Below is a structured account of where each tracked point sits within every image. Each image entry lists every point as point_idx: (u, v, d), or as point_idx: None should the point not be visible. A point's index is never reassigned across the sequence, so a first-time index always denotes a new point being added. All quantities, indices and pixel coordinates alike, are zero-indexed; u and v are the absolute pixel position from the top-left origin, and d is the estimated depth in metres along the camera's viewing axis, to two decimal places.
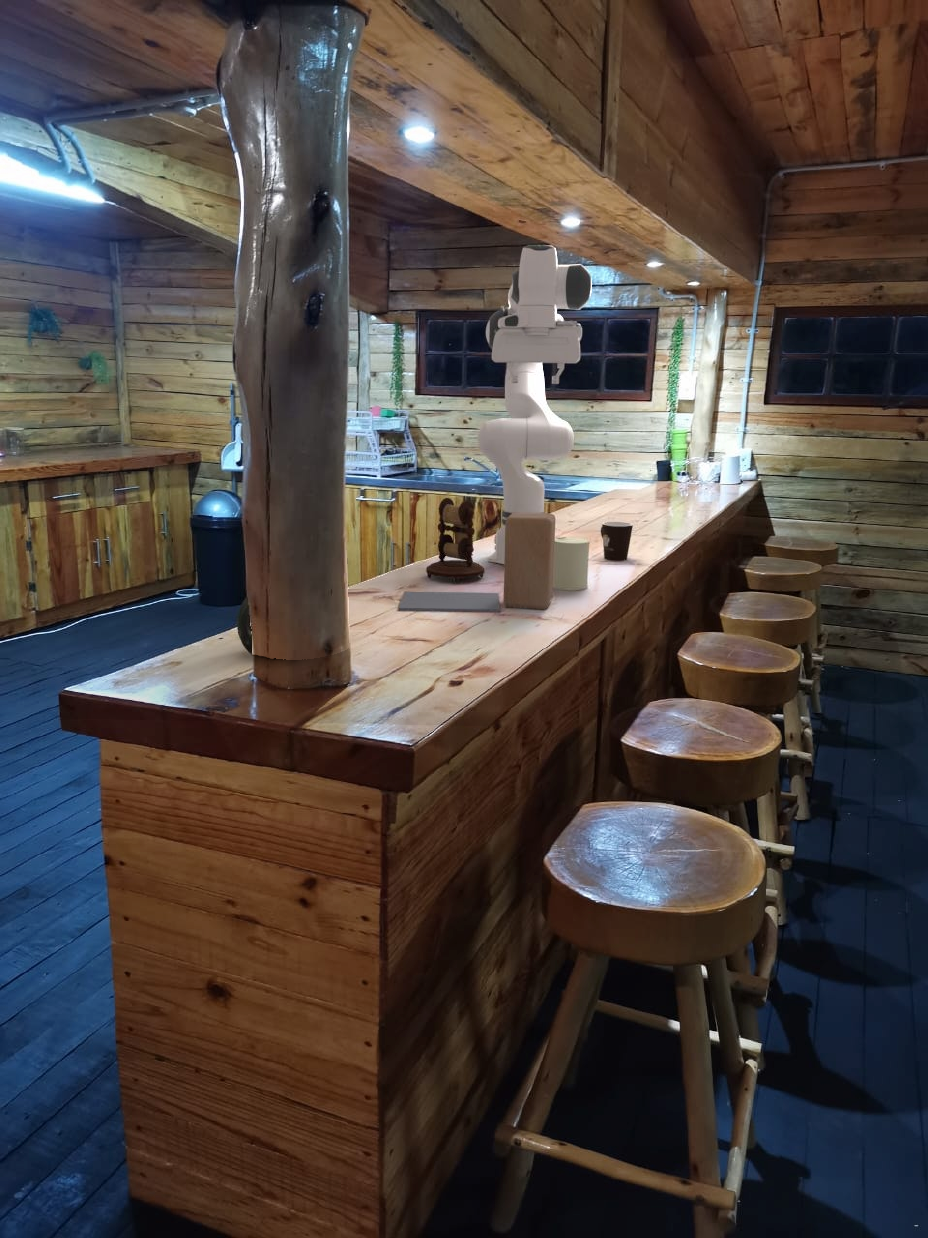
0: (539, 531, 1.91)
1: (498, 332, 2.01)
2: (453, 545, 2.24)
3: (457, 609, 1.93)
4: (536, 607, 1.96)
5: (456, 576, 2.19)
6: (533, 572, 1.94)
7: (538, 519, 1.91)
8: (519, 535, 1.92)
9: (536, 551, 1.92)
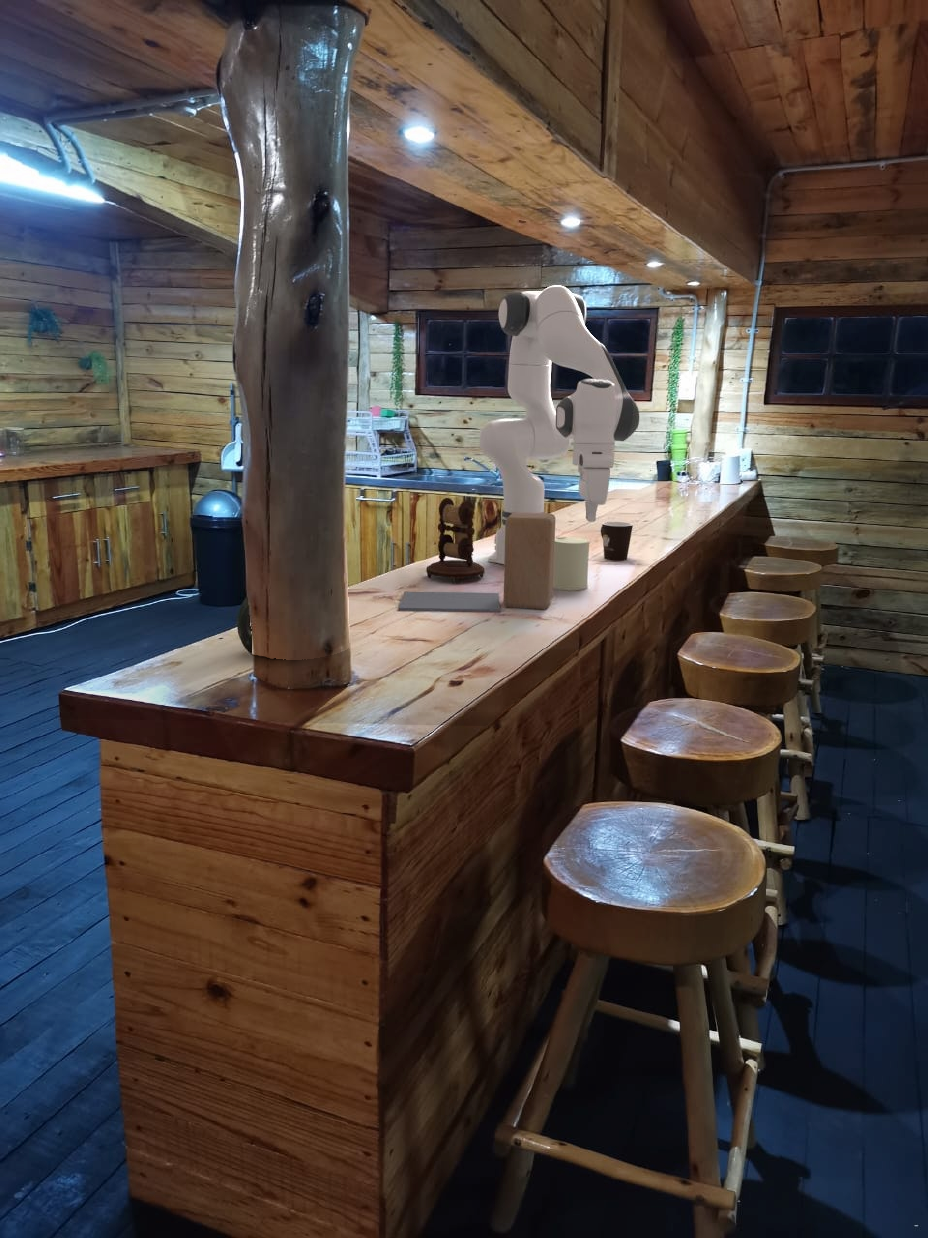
0: (539, 531, 1.91)
1: (609, 473, 1.84)
2: (453, 545, 2.24)
3: (457, 609, 1.93)
4: (536, 607, 1.96)
5: (456, 576, 2.19)
6: (533, 572, 1.94)
7: (538, 519, 1.91)
8: (519, 535, 1.92)
9: (536, 551, 1.92)
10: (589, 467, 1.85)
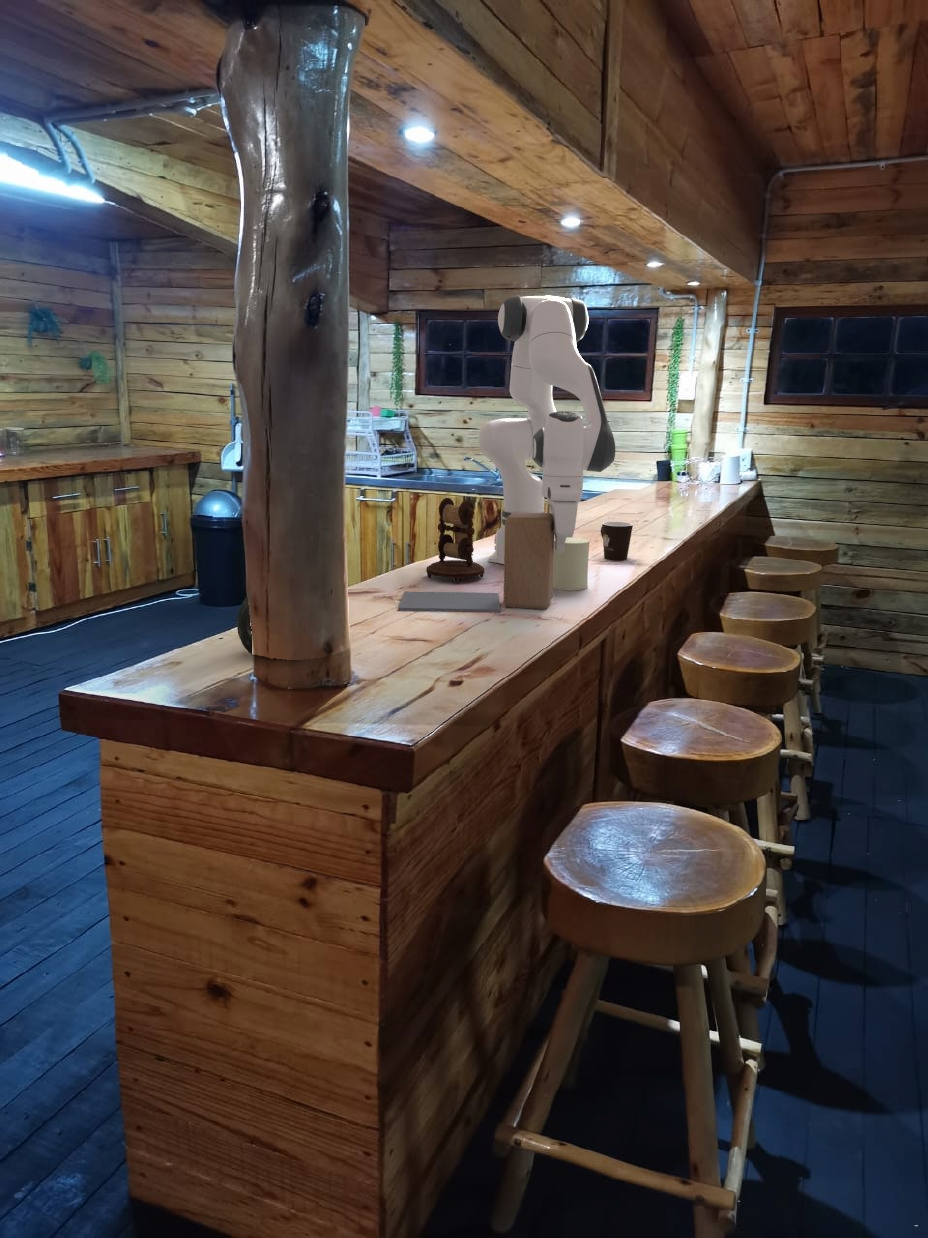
0: (539, 531, 1.91)
1: None
2: (453, 545, 2.24)
3: (457, 609, 1.93)
4: (536, 607, 1.96)
5: (456, 576, 2.19)
6: (533, 572, 1.94)
7: (538, 519, 1.91)
8: (518, 535, 1.92)
9: (536, 551, 1.92)
10: (557, 500, 1.86)
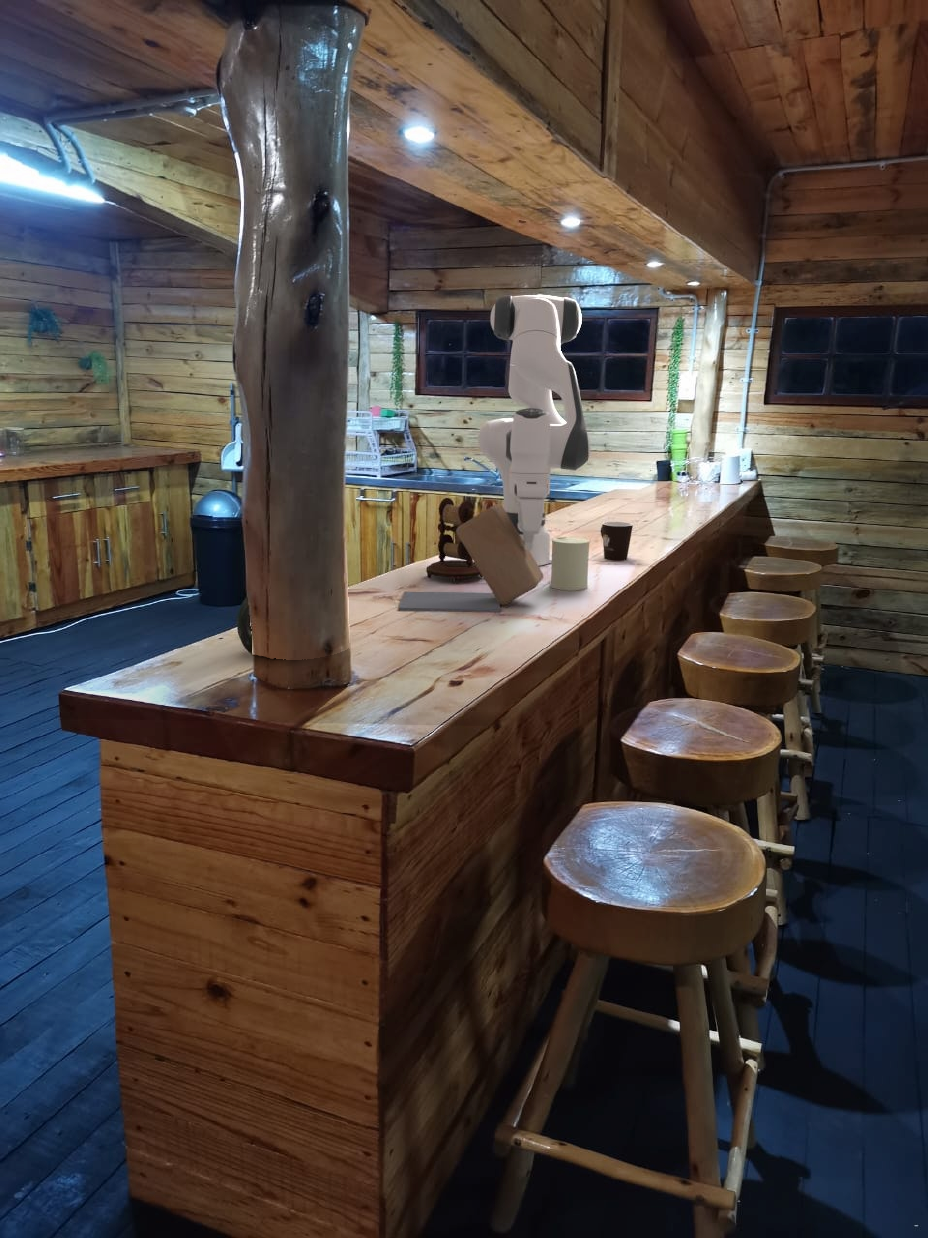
0: (488, 522, 1.93)
1: (543, 503, 1.86)
2: (453, 545, 2.24)
3: (457, 609, 1.93)
4: (527, 589, 1.95)
5: (456, 576, 2.19)
6: (506, 560, 1.94)
7: (481, 513, 1.94)
8: (474, 537, 1.95)
9: (496, 541, 1.94)
10: (523, 497, 1.86)
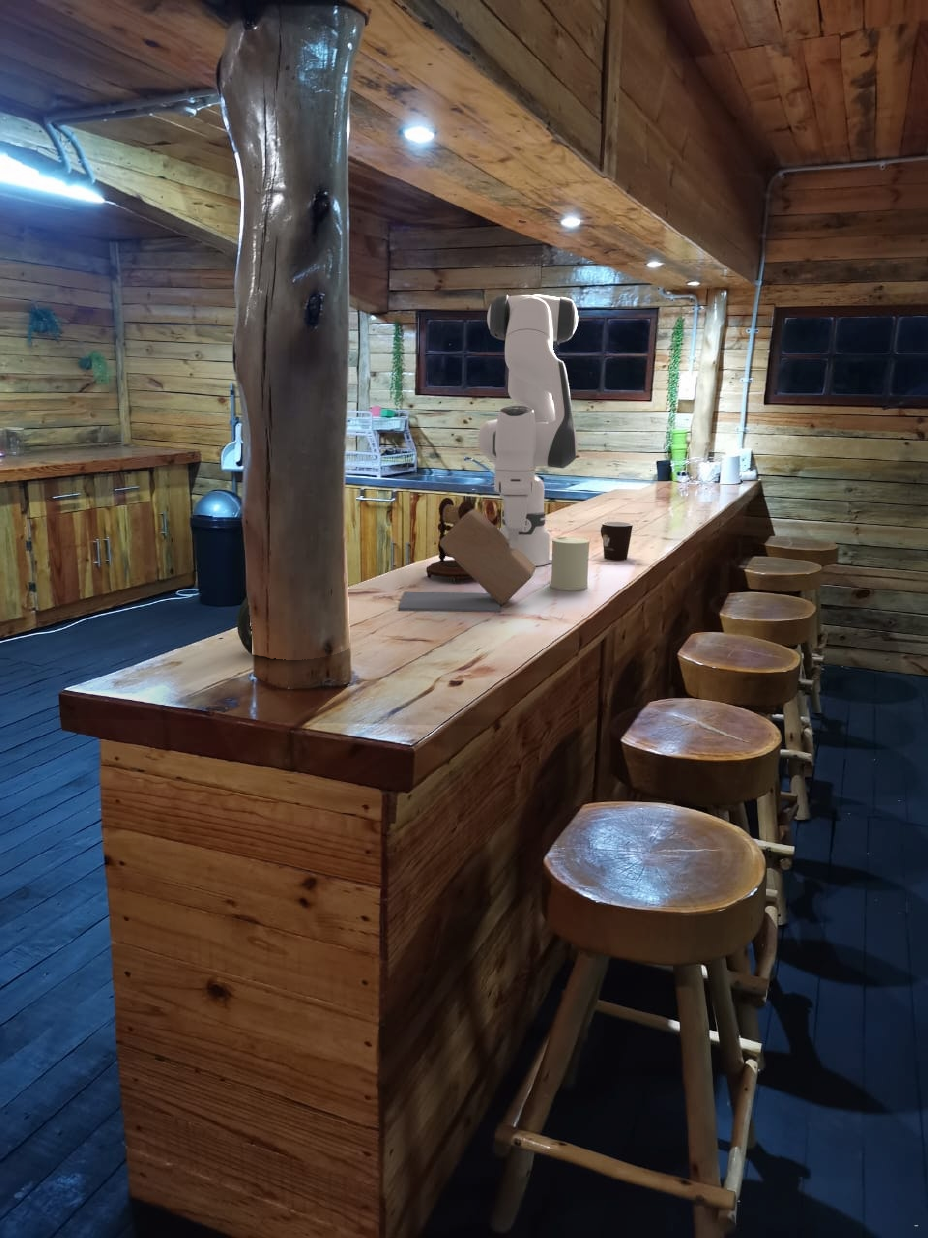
0: (468, 527, 1.94)
1: (527, 501, 1.86)
2: None
3: (457, 609, 1.93)
4: (523, 582, 1.95)
5: (456, 576, 2.19)
6: (495, 560, 1.95)
7: (459, 520, 1.95)
8: (458, 545, 1.96)
9: (481, 543, 1.94)
10: (507, 494, 1.86)
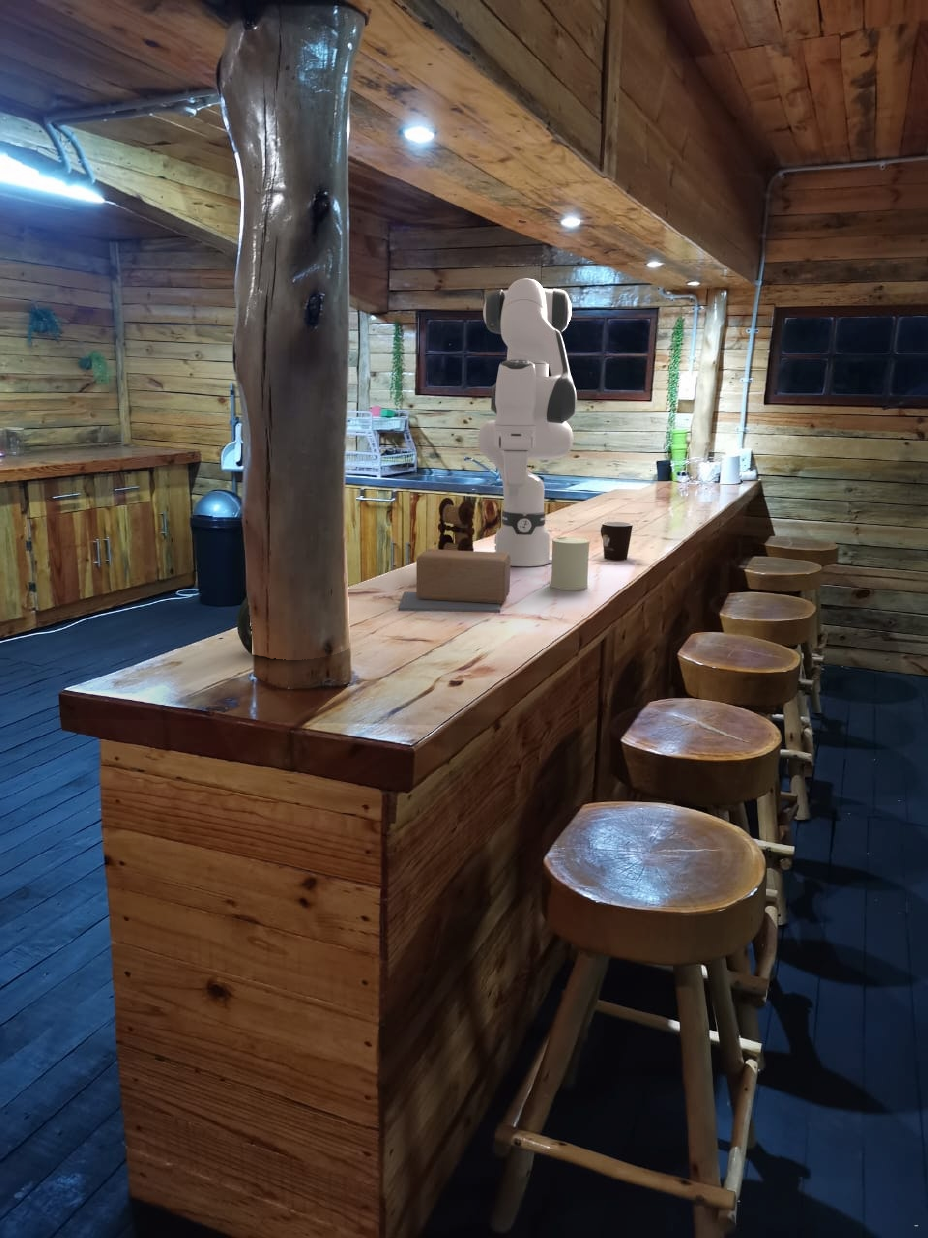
0: (427, 567, 1.98)
1: (527, 455, 1.84)
2: (453, 545, 2.24)
3: (457, 609, 1.93)
4: (502, 571, 1.95)
5: None
6: (467, 573, 1.97)
7: (416, 567, 1.99)
8: (432, 586, 1.99)
9: (446, 570, 1.97)
10: (507, 449, 1.84)
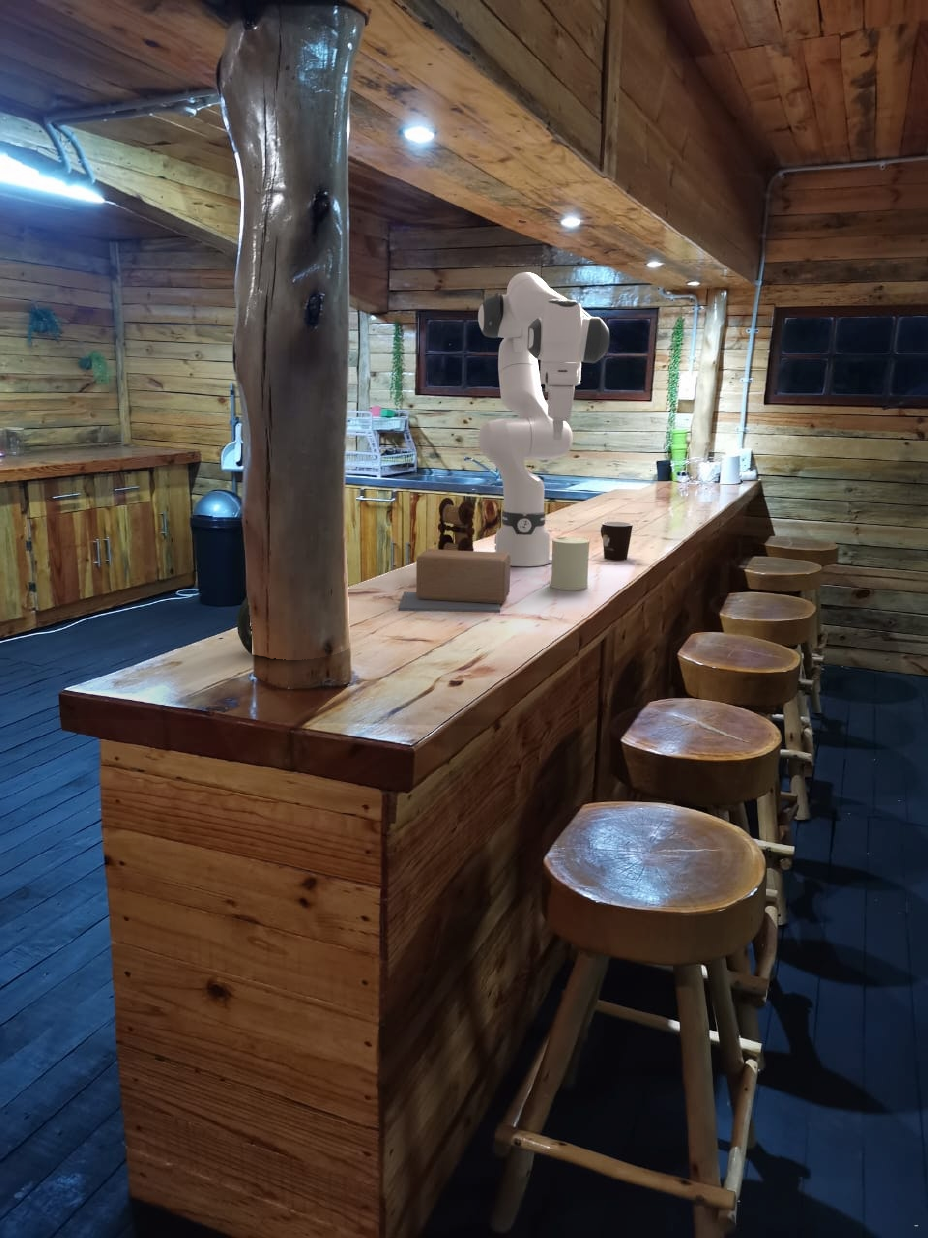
0: (427, 567, 1.98)
1: (574, 390, 1.90)
2: (453, 545, 2.24)
3: (457, 609, 1.93)
4: (502, 571, 1.95)
5: None
6: (467, 573, 1.97)
7: (416, 567, 1.99)
8: (432, 586, 1.99)
9: (446, 570, 1.97)
10: (554, 384, 1.90)
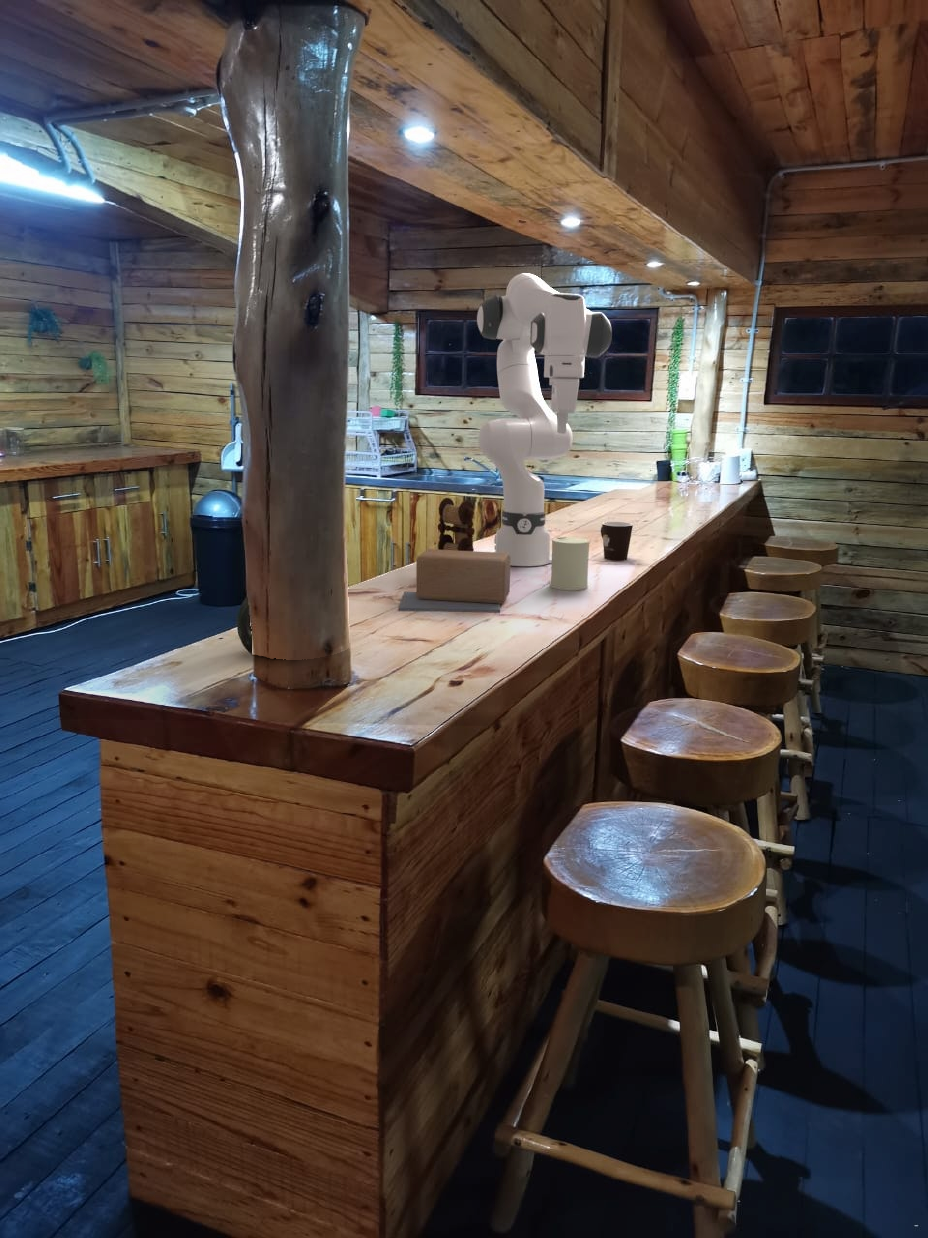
0: (427, 567, 1.98)
1: (578, 383, 1.91)
2: (453, 545, 2.24)
3: (457, 609, 1.93)
4: (502, 571, 1.95)
5: None
6: (467, 573, 1.97)
7: (416, 567, 1.99)
8: (432, 586, 1.99)
9: (446, 570, 1.97)
10: (559, 377, 1.91)
